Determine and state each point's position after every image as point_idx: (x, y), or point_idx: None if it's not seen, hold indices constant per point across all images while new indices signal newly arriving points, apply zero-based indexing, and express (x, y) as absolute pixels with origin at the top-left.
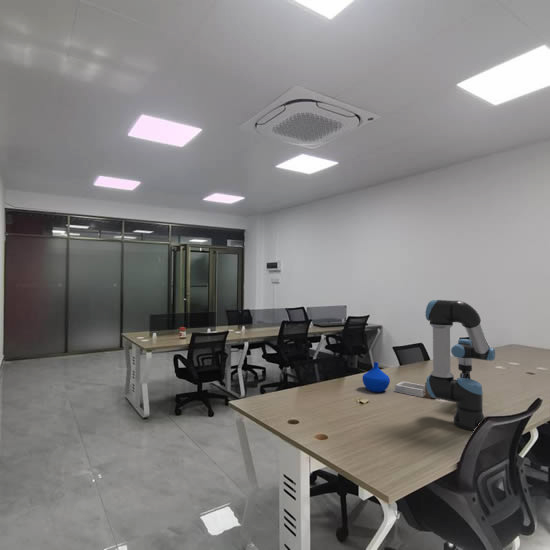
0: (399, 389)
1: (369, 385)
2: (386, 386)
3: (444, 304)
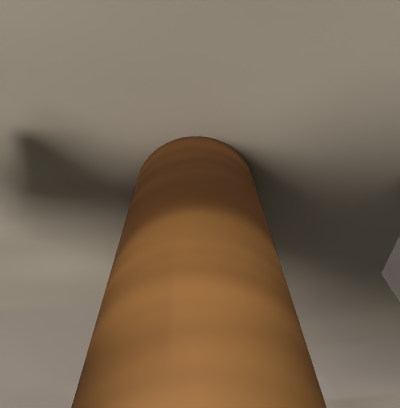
0: None
1: None
2: None
3: None
